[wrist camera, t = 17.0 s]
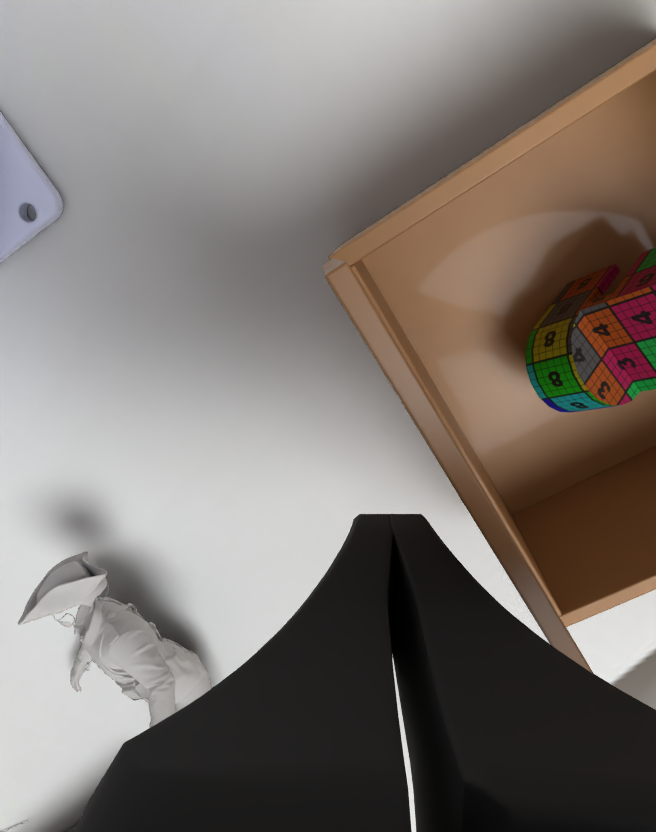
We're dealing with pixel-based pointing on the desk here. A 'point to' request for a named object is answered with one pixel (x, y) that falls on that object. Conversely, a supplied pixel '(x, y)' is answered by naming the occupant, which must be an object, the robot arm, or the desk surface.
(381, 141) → the desk surface
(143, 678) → the soldier figure
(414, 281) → the carton
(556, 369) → the block
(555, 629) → the flap
